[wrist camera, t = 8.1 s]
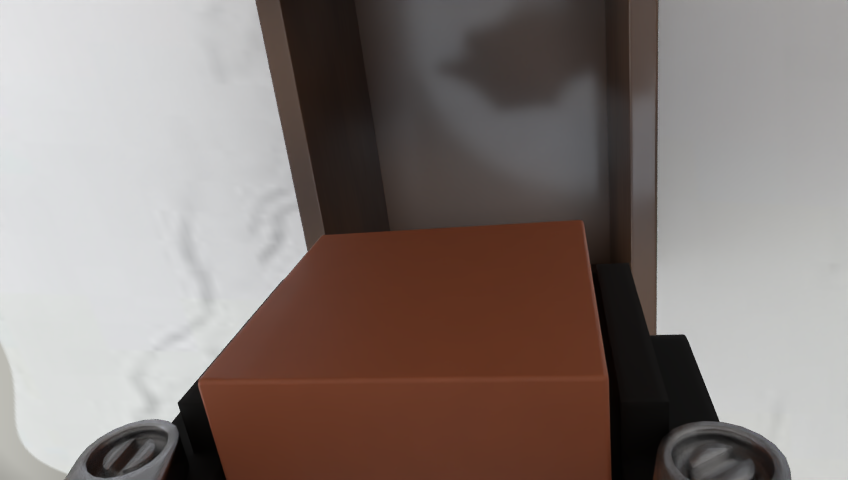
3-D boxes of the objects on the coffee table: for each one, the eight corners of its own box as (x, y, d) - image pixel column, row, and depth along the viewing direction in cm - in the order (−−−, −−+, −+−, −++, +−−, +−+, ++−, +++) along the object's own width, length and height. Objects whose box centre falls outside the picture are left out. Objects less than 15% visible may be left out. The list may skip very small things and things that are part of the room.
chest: (627, 271, 30) (656, 380, 22) (387, 280, 32) (334, 381, 24) (623, -75, 25) (659, -97, 17) (336, -33, 27) (247, -35, 19)
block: (321, 233, 12) (193, 382, 7) (582, 218, 11) (609, 377, 6) (361, 441, 13) (277, 657, 9) (592, 443, 12) (617, 687, 8)
